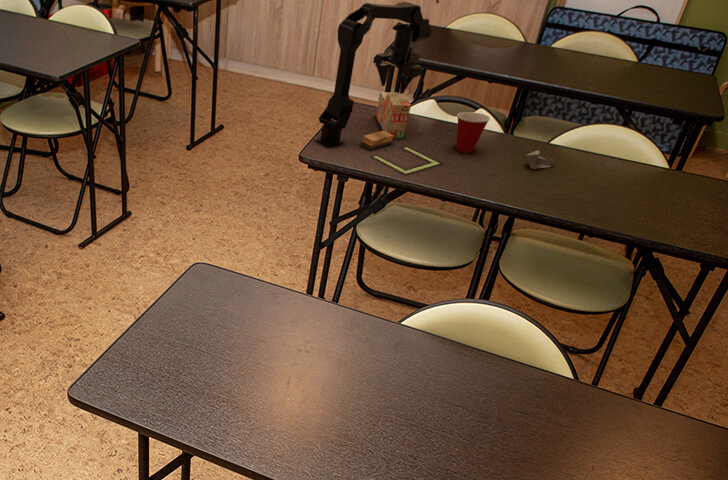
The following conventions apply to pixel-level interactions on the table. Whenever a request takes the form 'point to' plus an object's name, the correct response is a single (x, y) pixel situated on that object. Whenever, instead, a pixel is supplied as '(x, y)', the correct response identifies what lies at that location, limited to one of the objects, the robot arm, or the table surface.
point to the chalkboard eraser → (376, 140)
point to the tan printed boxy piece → (393, 113)
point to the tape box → (410, 169)
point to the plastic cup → (469, 130)
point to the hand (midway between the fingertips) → (392, 89)
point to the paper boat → (537, 160)
